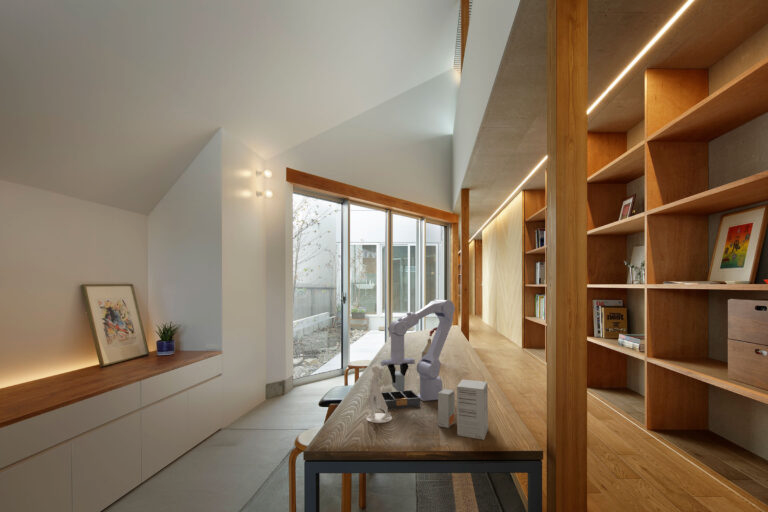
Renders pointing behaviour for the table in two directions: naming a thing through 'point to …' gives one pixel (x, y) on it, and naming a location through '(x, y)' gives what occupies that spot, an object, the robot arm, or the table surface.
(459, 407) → the supplement box
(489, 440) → the table surface
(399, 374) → the grey rectangular block
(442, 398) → the skincare box
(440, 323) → the robot arm
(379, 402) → the female figurine
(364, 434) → the table surface
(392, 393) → the divided tray
